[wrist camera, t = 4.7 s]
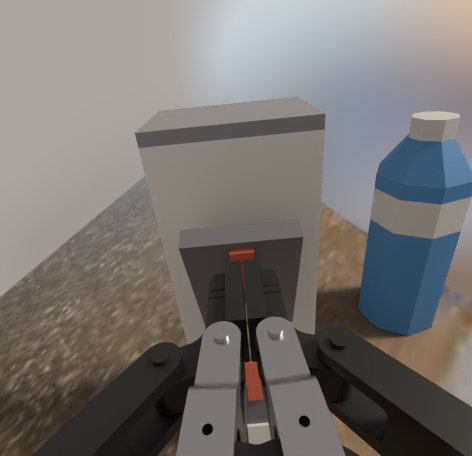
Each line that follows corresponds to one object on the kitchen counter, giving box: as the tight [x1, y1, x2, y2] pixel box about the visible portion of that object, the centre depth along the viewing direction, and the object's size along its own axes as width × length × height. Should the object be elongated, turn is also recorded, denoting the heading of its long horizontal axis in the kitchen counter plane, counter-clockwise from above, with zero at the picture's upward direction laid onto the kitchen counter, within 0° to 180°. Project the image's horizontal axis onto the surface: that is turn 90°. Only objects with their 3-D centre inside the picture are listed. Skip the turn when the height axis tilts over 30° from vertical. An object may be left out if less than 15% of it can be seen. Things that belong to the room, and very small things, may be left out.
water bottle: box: [358, 112, 472, 336], centre depth 36 cm, size 9×9×25 cm
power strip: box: [135, 97, 325, 346], centre depth 26 cm, size 10×13×29 cm
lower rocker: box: [245, 346, 271, 444], centre depth 24 cm, size 1×6×9 cm, turn 92°
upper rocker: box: [178, 219, 303, 327], centre depth 18 cm, size 2×6×9 cm, turn 92°
